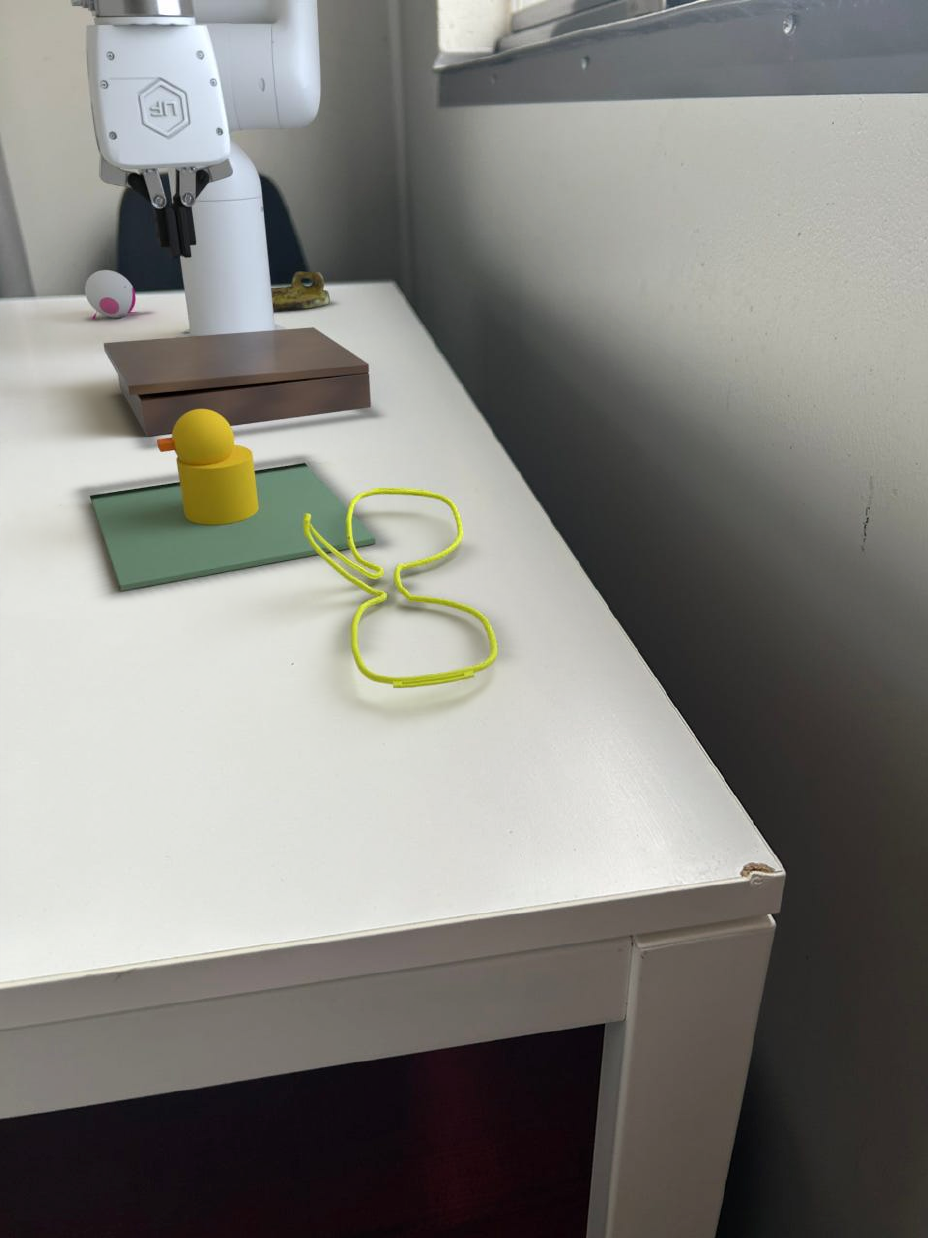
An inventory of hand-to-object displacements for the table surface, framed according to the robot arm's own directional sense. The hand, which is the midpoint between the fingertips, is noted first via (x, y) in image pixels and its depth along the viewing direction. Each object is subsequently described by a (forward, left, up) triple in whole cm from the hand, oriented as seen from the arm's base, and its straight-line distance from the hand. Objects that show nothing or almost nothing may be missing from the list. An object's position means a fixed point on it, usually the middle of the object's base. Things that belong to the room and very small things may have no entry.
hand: (179, 255), depth 85 cm
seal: (-44, +19, -14) cm, 50 cm away
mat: (+27, -4, -14) cm, 30 cm away
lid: (+1, +3, -9) cm, 10 cm away
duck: (+27, -4, -13) cm, 30 cm away
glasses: (+42, +3, -13) cm, 45 cm away
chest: (+1, +4, -14) cm, 14 cm away
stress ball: (-46, -1, -14) cm, 48 cm away
